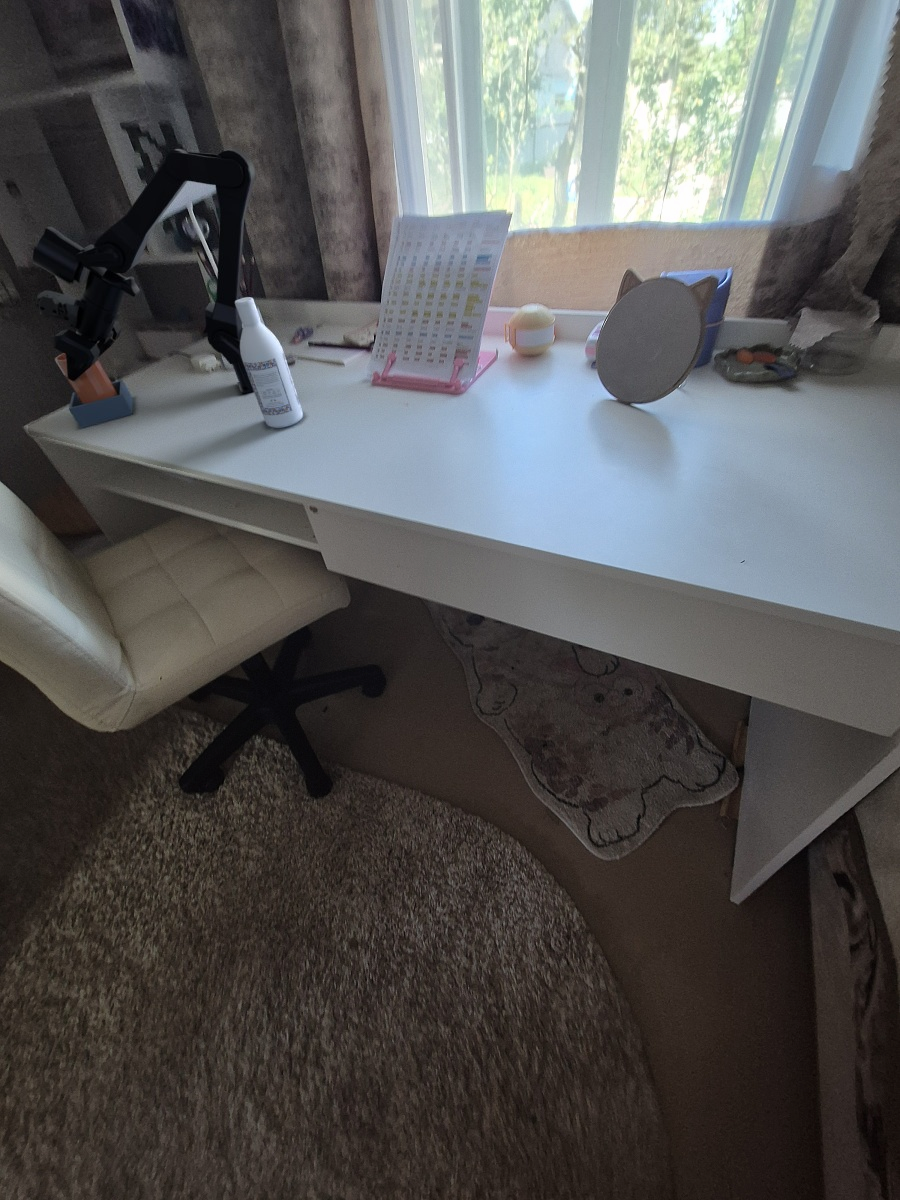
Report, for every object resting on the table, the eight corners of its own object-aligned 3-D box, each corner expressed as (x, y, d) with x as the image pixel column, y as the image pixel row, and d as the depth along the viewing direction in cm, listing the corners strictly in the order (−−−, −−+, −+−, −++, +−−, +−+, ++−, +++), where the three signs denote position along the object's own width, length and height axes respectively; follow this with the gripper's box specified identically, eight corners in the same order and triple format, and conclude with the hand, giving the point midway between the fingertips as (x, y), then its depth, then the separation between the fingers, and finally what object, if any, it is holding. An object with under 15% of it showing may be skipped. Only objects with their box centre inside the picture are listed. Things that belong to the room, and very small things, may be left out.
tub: (132, 414, 107) (122, 395, 105) (80, 428, 105) (68, 409, 102) (132, 398, 114) (122, 379, 112) (83, 411, 112) (72, 392, 109)
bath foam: (281, 410, 100) (241, 293, 86) (311, 413, 97) (274, 293, 84) (258, 427, 96) (212, 306, 82) (288, 430, 93) (246, 306, 79)
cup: (125, 401, 108) (97, 350, 101) (93, 414, 105) (61, 363, 98) (113, 394, 112) (85, 345, 105) (81, 407, 109) (50, 357, 102)
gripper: (69, 261, 99) (47, 333, 107) (28, 283, 86) (7, 365, 93) (132, 299, 105) (108, 366, 112) (104, 326, 92) (78, 400, 99)
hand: (77, 373), depth 104 cm, fingers closed on cup, 7 cm apart
